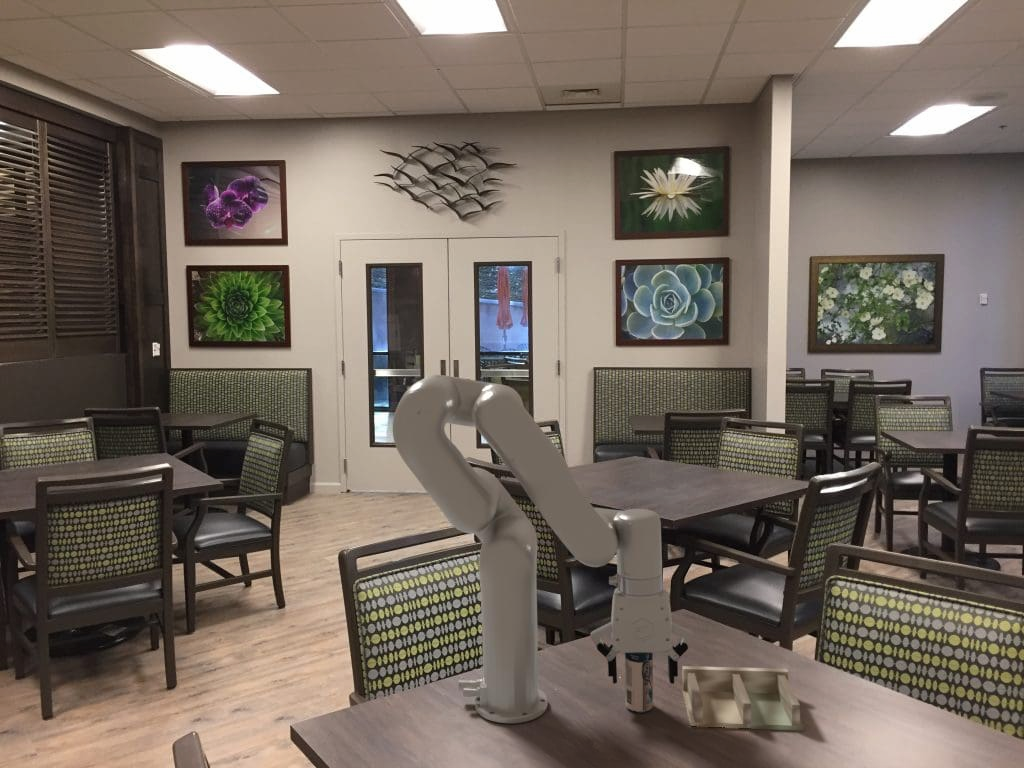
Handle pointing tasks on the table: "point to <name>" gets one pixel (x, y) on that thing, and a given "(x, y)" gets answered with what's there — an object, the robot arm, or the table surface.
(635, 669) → the beer can
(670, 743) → the table surface
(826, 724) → the table surface
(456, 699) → the table surface
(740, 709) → the comb rack
